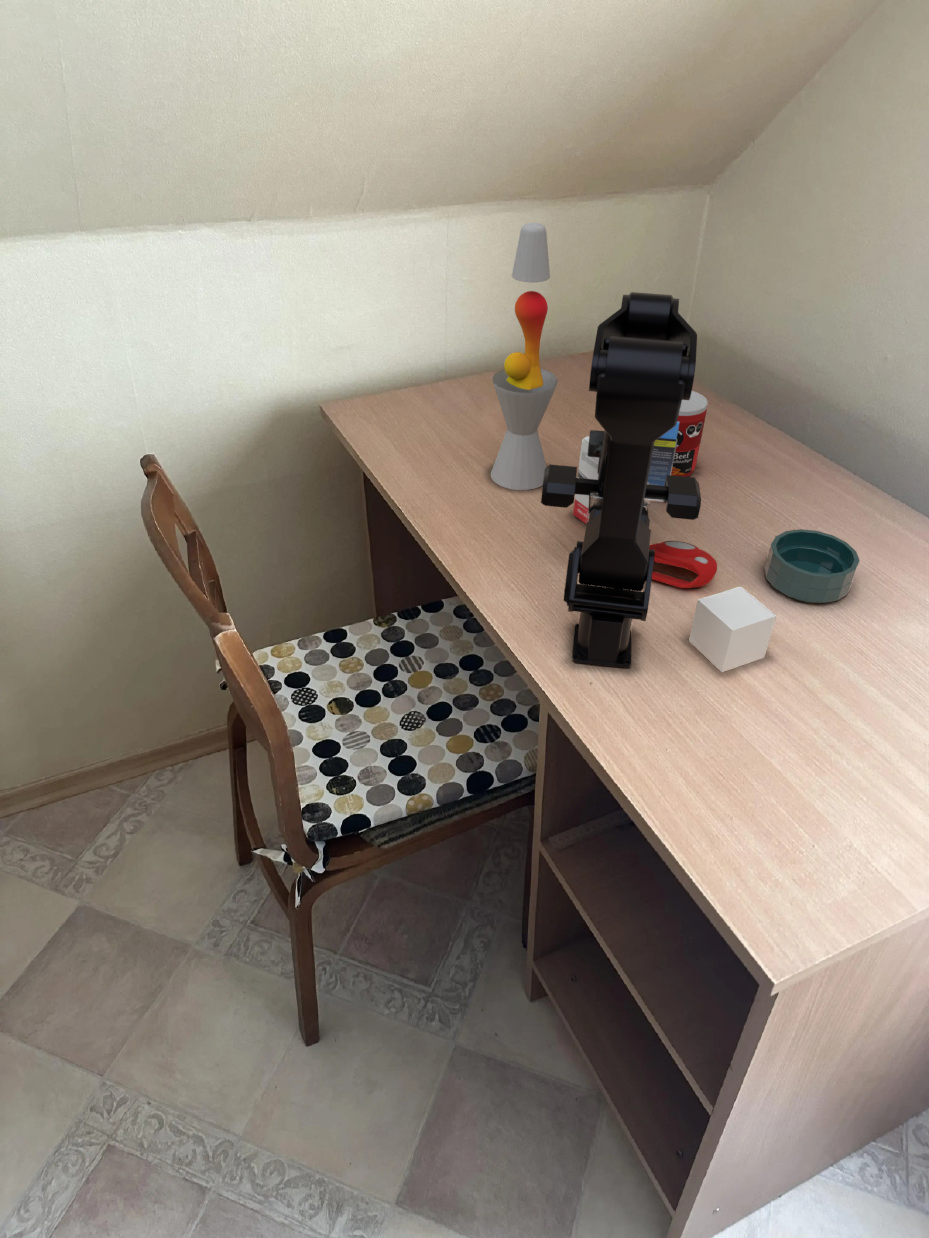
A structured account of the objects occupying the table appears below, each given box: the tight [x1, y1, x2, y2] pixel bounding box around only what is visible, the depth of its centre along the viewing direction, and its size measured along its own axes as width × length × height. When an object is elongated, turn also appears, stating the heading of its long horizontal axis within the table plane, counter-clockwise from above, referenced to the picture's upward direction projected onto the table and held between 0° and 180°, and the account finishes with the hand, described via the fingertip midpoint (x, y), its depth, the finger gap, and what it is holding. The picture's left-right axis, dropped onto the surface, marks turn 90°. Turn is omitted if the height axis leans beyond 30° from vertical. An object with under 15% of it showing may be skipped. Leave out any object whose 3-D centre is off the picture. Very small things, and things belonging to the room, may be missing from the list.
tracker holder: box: [649, 540, 718, 589], centre depth 112 cm, size 12×4×10 cm
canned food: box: [671, 390, 709, 477], centre depth 131 cm, size 8×8×11 cm
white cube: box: [688, 586, 777, 673], centre depth 100 cm, size 6×6×6 cm
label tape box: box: [647, 422, 679, 486], centre depth 125 cm, size 9×4×12 cm, turn 79°
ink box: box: [572, 435, 599, 525], centre depth 120 cm, size 8×5×12 cm, turn 123°
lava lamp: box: [490, 222, 559, 491], centre depth 122 cm, size 9×9×35 cm
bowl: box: [764, 528, 860, 604], centre depth 111 cm, size 10×10×4 cm
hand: (610, 549), depth 113 cm, fingers closed
